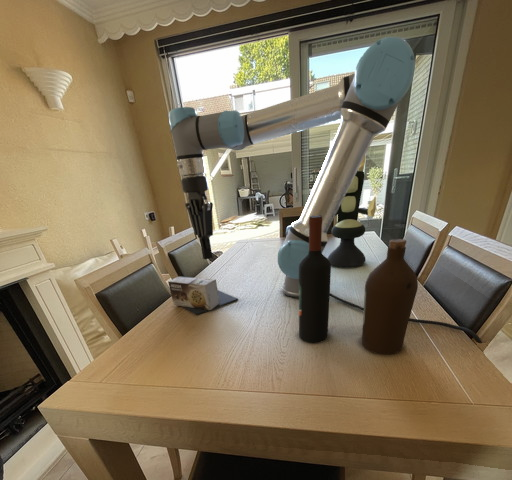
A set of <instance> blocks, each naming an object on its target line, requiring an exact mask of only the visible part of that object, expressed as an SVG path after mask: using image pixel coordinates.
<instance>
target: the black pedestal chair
mask: <svg viewBox="0 0 512 480" xmlns="http://www.w3.org/2000/svg"><path fill="white" fill-rule="evenodd" d="M366 158H367V154H366V155H365V157H364V159H363V161H362V163H361V165H360V167H359V169H358V171H357V173H356V175H355V177H354V179H353V181H352V183H351V185H350V187H349V189H348V191H347V193H346V195H345V197H344V199H343V201H342V203H341V205H340V207H339V209H338V211H337V213H336V215H335V217H336V216H337V217H336V218H337V220H336V221H337V223H336V224H335V225H333V227H332V228H331V235H332V237H334V238H337V239H340V242H339V245H338V246H337V247H336V248H335V249H333V251H331V252H330V254H328V256H327V257H326V258H327V259H328V260H329V262H330V263H331V267H335V268H341V269H342V268H343V269H346V268H347V269H348V268H351V269H352V268H356V267H360V266H363V265H364V263H366V255H365V254H364V253H363V251H362V250H361V249H359V248H358V246H357V245H356V244H355V243H356V242H355V239H357V238H360V237H362V236H364V234H365V232H366V227H365V226H364V224H362V223H361V222H360V221H359V214H361V215H365V216H368V217H371V218H374V217H375V215H376V210H377V199H376V197H377V196H374V197H373V198H372V200H371V201H370V202H369V204H368V207H360V204H361V198H362V193H363V188H364V183H365V177H366V175H365V171H364V170H365V164H366Z"/></svg>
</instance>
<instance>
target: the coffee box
mask: <svg viewBox="0 0 512 480" xmlns="http://www.w3.org/2000/svg"><path fill="white" fill-rule="evenodd" d="M167 284H168V288H169V292H170V295H171V300H172V304H173V306H177V307H182V306H184V307H191V308H198V309H205V310H210V311H212V310H214V309H213V308H214V307H216V306H217V305H218V304H220V303H219V297H218V291H219V290H218V285H217V279H214V278H202V277H193V276H192V277H191V276H182V275H179V276H177V277H174V278H172V279H171V280H169V281H168V283H167ZM211 309H212V310H211Z"/></svg>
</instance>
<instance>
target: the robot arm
mask: <svg viewBox="0 0 512 480" xmlns="http://www.w3.org/2000/svg"><path fill="white" fill-rule="evenodd" d="M415 59H416V58H415V54H414V51H413V49H412V47H411V45H410V43H408V41H406V40H405V39H403V38H401V37H398V36H394V35H393V36H392V35H391V36H385V37H383V38H380V39H378V40H376V41H375V42H373V43H372V44H371V45H370V46H369V47H368V48H367V49H366V50H365V51H364V53H363V54H362V56H360V58H359V60H358V62H357V64H356V66H355V70H354V72H353V73H352V74H349V75H346V76H343V77H341V79H340V80H339V82H338V83H337V84H336V85H332V86H329V87H326V88H323V89H319V90H317V91H313V92H310V93H307V94H304V95H301V96H298V97H294V98H292V99H290V100H286V101H283V102H279V103H276V104H273V105H270V106H267V107H264V108H261V109H258V110H255V111H252V112H249V113H247V114H243V115H241V113H240V111H238V110H236V109H235V110H223V111H219V112H215V113H209V114H203V115H198V113H197V110H196V108H194V107H191V106H182V107H175V108H173V109H170V111H169V112H168V121H169V126H170V134H171V138H172V143H173V147H174V152H175V156H176V162H177V164H176V167H177V168H178V172H179V176H180V177H182V178H181V180H180V183H181V187H182V192H183V193H184V194H187V200H188V202H185V204H184V205H185V208H186V210H187V213H188V216H189V220H190V223H191V226H192V229H193V232H194V235H195V236H197V238H198V239H199V243H200V249H201V253H202V254H201V255H202V259H203V260H209V259H213V252H212V246H211V240H210V239H211V238H210V237H212V236H214V227H213V225H214V223H213V208H214V205H213V204H214V203H213V202H210V201H208V197H207V193H206V191H208V190H209V183H208V177H207V176H206V175H205V174H206V173H207V169H206V164H205V158H204V151H208V150H215V149H227V150H233V151H241V150H244V149H246V148H247V147H250V146H253V145H257V144H261V143H263V142H268V141H271V140H274V139H278V138H281V137H285V136H288V135H291V134H292V135H293V134H295V133H298V132H302V131H305V130H308V129H313V128H316V127H321V126H324V125H326V124H327V125H328V124H330V123H333V122H337V121H341V123H340V125H339V127H338V129H337V133H336V135H335V137H334V139H333V142H332V143H331V146H330V148H329V150H328V152H327V155H326V157H325V160H324V162H323V164H322V167H321V170H320V171H319V174H318V175H317V178H316V181H315V183H314V185H313V187H312V189H311V191H310V195H309V197H308V199H307V202H306V203H305V206H304V208H303V210H302V213H301V215H300V217H299V219H298V220H296V221H294V222H292V223H291V224H290V225H288V226H287V227H286V229H285V239H284V240H283V244H282V245H281V247H279V249H278V253H277V266H278V267H279V270H280V271H281V272H282V274H283V275H285V277H284V282H283V284H282V293H283V294H284V295H286V296H287V297H291V298H297V299H299V264H300V262H301V261H302V259H303V258H305V257H306V256H307V255H308V252H309V217H310V216H322V236H321V252H322V253H323V252H324V250H325V249H326V246H327V244H328V243H329V236H328V230H329V229H330V226H331V224H332V223H333V220H334V218H335V217H336V216H337V215H336V213H337V211H338V209H339V207H340V205H341V203H342V201H343V199H344V197H345V195H346V193H347V191H348V189H349V187H350V185H351V183H352V181H353V179H354V177H355V175H356V173H357V171H358V169H359V167H360V165H361V163H362V161H363V159H364V157H365V155H366V156H367V153H368V151H369V148H370V147H371V145H372V143H373V140H374V139H375V137H376V136H377V135H379V134H381V133H383V132H385V131H386V129H387V127H388V125H389V124H390V122H391V120H392V118H393V115H394V114H395V112H396V109H397V108H398V106H399V104H400V102H401V100H402V99H403V98H404V97H405V96H406V94H407V93H408V91H409V89H410V87H411V85H412V83H413V81H414V80H413V79H414V75H415V71H416V60H415ZM335 215H336V216H335ZM330 297H331V298H333V299H334V300H336V301H339V302H341V303H343V304H346V305H348V306H350V307H353V308H356V309H359V310H361V311H363V312H364V306H361V305H358V304H356V303H353V302H350V301H348V300H345V299H343V298H341V297H339V296H336V295H334V294H332V293H331V292H330ZM408 323H417V324H425V325H435V326H441V327H446V328H449V329H453V330H458V331H461V332H465V333H467V334H469V335H470V336H471V337H472V338H473V340H474V341H476V343H477V344H483V341H482V339H481V338H480V336H478V335H477V333H475V331H473V330H471V328H470V329H469V328H467V327H464V326H460V325H456V324H451V323H447V322H445V321H444V322H443V321H437V320H430V319H429V320H426V319H418V318H411V317H410V318H409V322H408Z"/></svg>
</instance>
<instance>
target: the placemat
mask: <svg viewBox="0 0 512 480" xmlns="http://www.w3.org/2000/svg"><path fill="white" fill-rule="evenodd" d="M218 297H219V303H220V304H218V305H217V306H216V307H214V308H213V309H211V310H205V309H198V308H191V307H184V306H181V307H182V308H183V309H185V310H187V311H188V312H190V313H191V314H193V315H195V316H199V315H201V314H204V313H207V312H209V311H210V312H211V311H212V310H215V309H217V308H221V307H223V306H226V305H228V304H231V303H233V302H236V301H238V300H239V299H238V298H237V297H235V296H233V295H230V294H228V293H225V292H223V291H221V290H218Z"/></svg>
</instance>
